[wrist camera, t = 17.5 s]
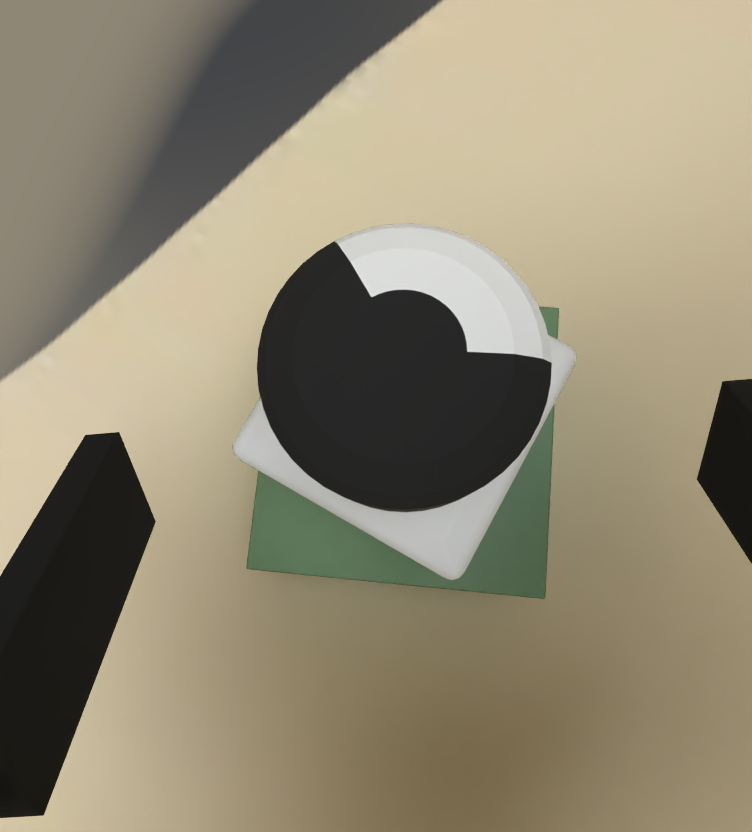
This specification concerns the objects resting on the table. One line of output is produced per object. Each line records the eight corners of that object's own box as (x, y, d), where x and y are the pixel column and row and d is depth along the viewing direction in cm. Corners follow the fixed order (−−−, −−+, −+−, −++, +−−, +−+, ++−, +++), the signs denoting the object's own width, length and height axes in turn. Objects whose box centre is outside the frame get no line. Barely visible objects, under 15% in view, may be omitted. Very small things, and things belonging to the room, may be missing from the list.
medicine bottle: (443, 568, 23) (479, 613, 11) (277, 472, 24) (151, 422, 12) (533, 400, 24) (654, 279, 12) (370, 314, 25) (335, 124, 13)
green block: (534, 343, 30) (559, 307, 25) (521, 585, 28) (545, 599, 23) (301, 326, 30) (280, 288, 25) (274, 561, 28) (245, 568, 24)
